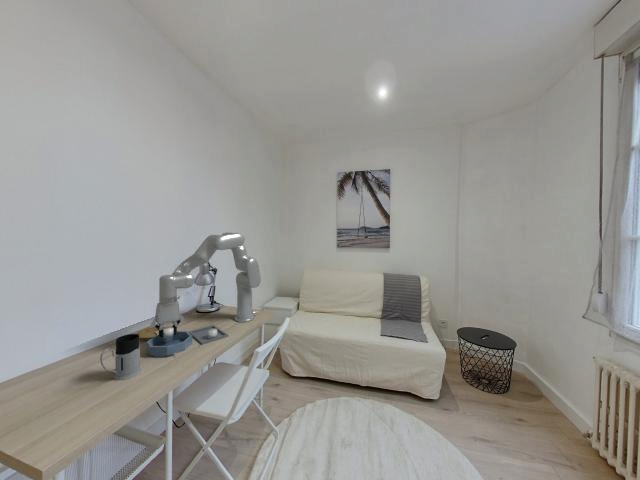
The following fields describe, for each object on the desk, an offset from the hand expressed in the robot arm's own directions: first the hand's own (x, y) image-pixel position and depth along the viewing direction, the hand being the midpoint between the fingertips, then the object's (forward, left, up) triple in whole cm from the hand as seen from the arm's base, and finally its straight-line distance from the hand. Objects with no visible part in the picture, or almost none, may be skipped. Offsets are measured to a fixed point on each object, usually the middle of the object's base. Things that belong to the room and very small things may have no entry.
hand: (167, 335), depth 125 cm
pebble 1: (0, 0, -1) cm, 1 cm away
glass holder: (+21, +17, -6) cm, 28 cm away
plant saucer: (+3, -19, -6) cm, 20 cm away
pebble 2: (-19, +7, -5) cm, 21 cm away
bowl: (0, +3, -6) cm, 7 cm away
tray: (-19, +2, -6) cm, 20 cm away
